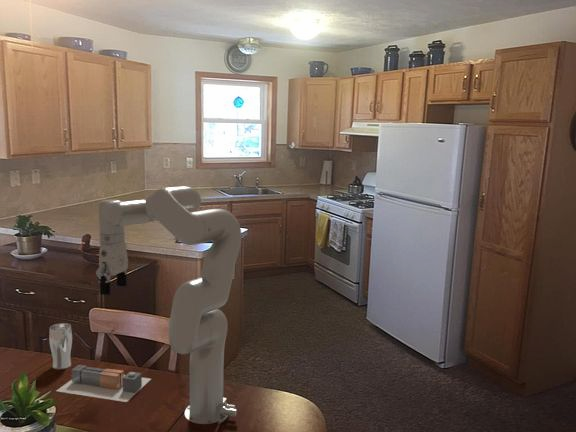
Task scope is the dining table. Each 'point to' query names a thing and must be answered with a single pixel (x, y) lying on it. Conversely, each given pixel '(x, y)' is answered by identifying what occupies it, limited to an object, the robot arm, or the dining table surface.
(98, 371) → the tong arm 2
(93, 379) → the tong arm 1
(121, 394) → the white board with blocks
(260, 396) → the dining table surface
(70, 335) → the beer glass
